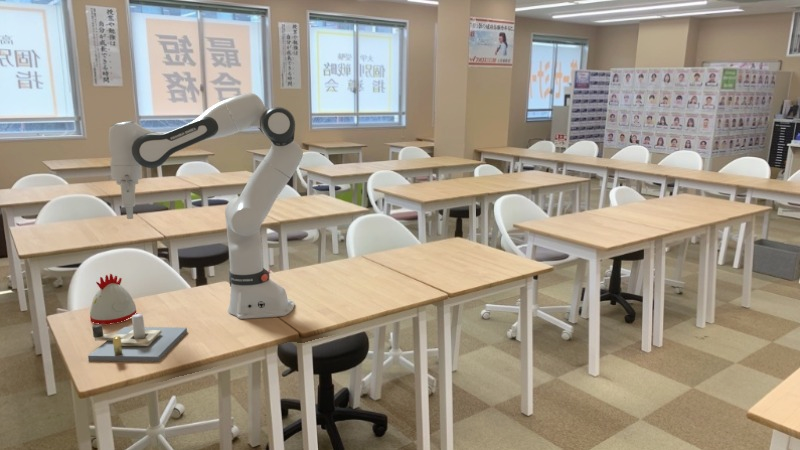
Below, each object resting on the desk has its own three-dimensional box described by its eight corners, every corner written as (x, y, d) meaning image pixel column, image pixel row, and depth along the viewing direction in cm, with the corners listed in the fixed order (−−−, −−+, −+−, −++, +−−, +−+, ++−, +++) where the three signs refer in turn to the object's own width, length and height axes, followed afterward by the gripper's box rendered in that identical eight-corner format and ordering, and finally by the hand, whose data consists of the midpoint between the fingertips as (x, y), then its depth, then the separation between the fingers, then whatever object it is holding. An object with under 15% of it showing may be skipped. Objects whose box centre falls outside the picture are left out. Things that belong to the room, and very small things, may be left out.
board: (187, 331, 175) (184, 303, 173) (158, 361, 155) (155, 330, 153) (124, 331, 175) (121, 303, 173) (88, 360, 156) (84, 329, 154)
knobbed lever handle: (161, 333, 169) (160, 321, 168) (147, 346, 160) (146, 333, 159) (102, 332, 170) (101, 320, 169) (85, 345, 161) (84, 332, 160)
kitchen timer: (82, 318, 185) (76, 276, 182) (122, 306, 197) (117, 265, 193) (105, 328, 178) (99, 284, 174) (144, 314, 189) (140, 272, 186)
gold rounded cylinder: (123, 352, 157) (121, 336, 156) (120, 355, 155) (118, 339, 154) (117, 352, 157) (114, 336, 156) (113, 355, 155) (111, 339, 154)
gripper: (138, 177, 168) (141, 221, 171) (137, 168, 186) (140, 209, 189) (115, 178, 165) (118, 223, 168) (116, 169, 183) (119, 210, 186)
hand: (130, 215), depth 179 cm, fingers open, 8 cm apart
